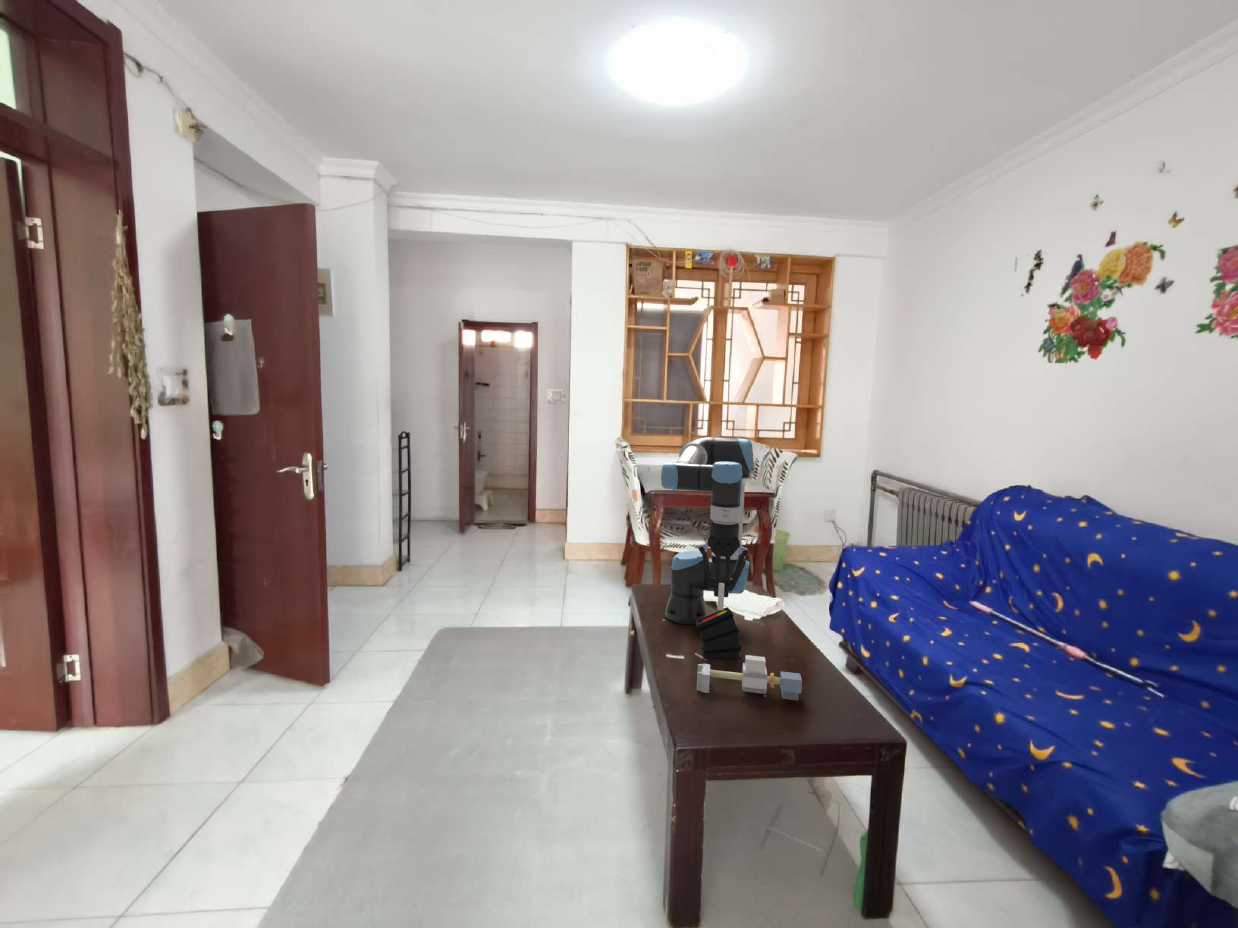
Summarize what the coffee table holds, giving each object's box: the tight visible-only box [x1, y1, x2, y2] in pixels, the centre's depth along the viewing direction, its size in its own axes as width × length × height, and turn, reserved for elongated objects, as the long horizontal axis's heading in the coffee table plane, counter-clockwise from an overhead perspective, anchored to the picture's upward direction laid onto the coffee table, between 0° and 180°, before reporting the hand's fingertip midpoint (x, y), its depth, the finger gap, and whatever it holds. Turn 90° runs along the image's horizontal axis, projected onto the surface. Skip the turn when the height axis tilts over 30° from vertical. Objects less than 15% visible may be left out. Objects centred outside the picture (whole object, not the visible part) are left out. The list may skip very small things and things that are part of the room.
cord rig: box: [696, 663, 803, 702], centre depth 144 cm, size 6×27×6 cm, turn 80°
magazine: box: [695, 607, 742, 659], centre depth 164 cm, size 4×13×15 cm, turn 92°
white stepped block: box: [741, 654, 768, 695], centre depth 144 cm, size 5×6×8 cm
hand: (720, 608), depth 144 cm, fingers closed
